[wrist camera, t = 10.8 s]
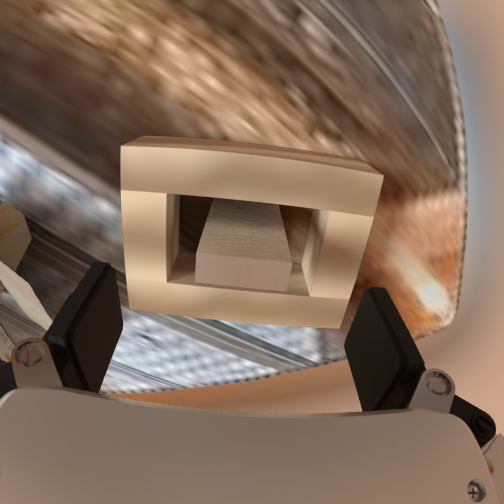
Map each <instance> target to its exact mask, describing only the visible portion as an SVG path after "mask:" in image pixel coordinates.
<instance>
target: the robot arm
mask: <svg viewBox="0 0 504 504" xmlns="http://www.w3.org/2000/svg"><path fill="white" fill-rule="evenodd" d="M122 329H123V319H122V313H121V307H120V301H119V294H118V287H117V280H116V272H115V268H114V267H111V265H110V263H105V262H94V263H93V264H92V266H91V267H90V269H89V270H88V272H87V273H86V275H85V276H84V277H83V279H82V280H81V282H80V283H79V285H78V286H77V288H76V289H75V291H74V292H73V293H72V294H71V295H70V296H69V297H68V299H67V300H66V302H65V303H64V305H63V306H62V308H61V309H60V311H59V313H58V314H57V316H56V317H55V319H54V321H53V322H52V324H51V325H50V327H49V329H48V330H47V332H46V334H45V335H44V337H43V339H39V338H28V339H25V340H22V341H20V342H19V343H18V344H17V345H16V346H15V347H14V348H13V350H12V353H11V361H10V362H7V363H5V364H3V365H0V504H504V437H503V436H502V434H500V433H499V434H498V435H496V426H495V423H494V421H493V419H492V418H491V417H490V416H489V415H488V414H487V413H486V412H484V411H482V410H481V409H479V408H477V407H475V406H474V405H472V404H470V403H468V402H467V401H465V400H463V399H462V398H460V397H458V396H457V395H455V384H454V382H453V380H452V378H451V377H450V376H449V375H448V374H447V373H445V372H444V371H442V370H439V369H434V368H432V369H428V370H426V368H425V366H424V364H425V363H424V361H423V359H422V357H421V355H420V353H419V351H418V349H417V347H416V345H415V343H414V341H413V339H412V337H411V335H410V333H409V331H408V329H407V327H406V325H405V323H404V321H403V320H402V318H401V316H400V314H399V312H398V310H397V308H396V307H395V305H394V303H393V301H392V299H391V298H390V296H389V294H388V292H387V290H386V289H385V288H381V287H370V288H369V289H368V290H366V291H365V292H364V294H363V296H362V299H361V302H360V304H359V307H358V310H357V312H356V315H355V317H354V320H353V322H352V325H351V327H350V330H349V332H348V335H347V337H346V340H345V344H344V348H345V352H346V355H347V359H348V362H349V365H350V369H351V372H352V376H353V379H354V382H355V386H356V389H357V393H358V397H359V400H360V404H361V407H362V411H363V412H345V413H318V414H278V413H249V412H231V411H219V410H207V409H197V408H188V407H179V406H171V405H164V404H157V403H150V402H144V401H138V400H132V399H126V398H121V397H115V396H110V395H104V394H99V391H100V388H101V385H102V382H103V379H104V377H105V374H106V371H107V369H108V366H109V363H110V361H111V358H112V355H113V353H114V350H115V348H116V345H117V343H118V340H119V338H120V335H121V333H122Z"/></svg>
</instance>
